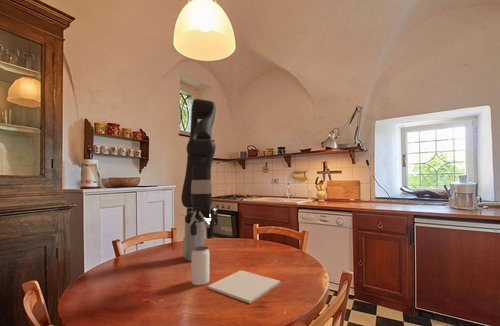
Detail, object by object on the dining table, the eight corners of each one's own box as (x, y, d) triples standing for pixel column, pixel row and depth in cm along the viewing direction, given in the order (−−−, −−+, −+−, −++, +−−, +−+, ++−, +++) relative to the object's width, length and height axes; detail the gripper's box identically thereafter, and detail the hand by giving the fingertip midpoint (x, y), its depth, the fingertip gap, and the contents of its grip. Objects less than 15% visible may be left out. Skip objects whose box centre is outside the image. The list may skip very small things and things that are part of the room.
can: (205, 286, 85) (205, 251, 86) (188, 285, 86) (188, 250, 87) (211, 279, 91) (212, 246, 92) (195, 277, 93) (196, 245, 94)
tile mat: (207, 288, 84) (207, 285, 84) (240, 272, 98) (240, 270, 98) (250, 303, 73) (250, 300, 73) (280, 283, 88) (280, 280, 88)
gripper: (181, 192, 93) (180, 236, 91) (207, 193, 84) (208, 241, 83) (196, 191, 99) (196, 232, 97) (222, 192, 90) (223, 237, 89)
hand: (201, 236), depth 90 cm, fingers open, 8 cm apart
